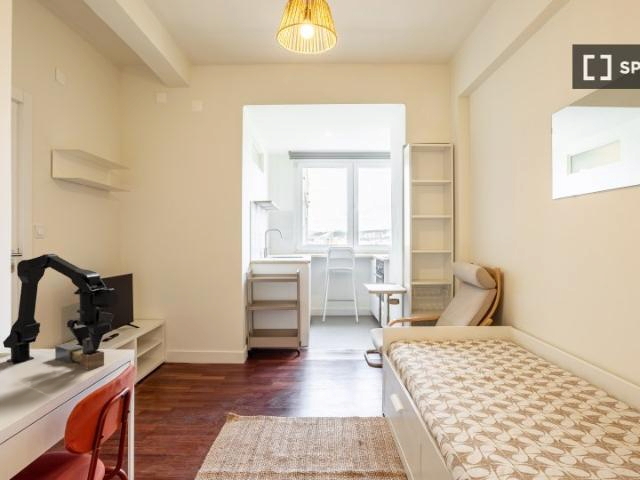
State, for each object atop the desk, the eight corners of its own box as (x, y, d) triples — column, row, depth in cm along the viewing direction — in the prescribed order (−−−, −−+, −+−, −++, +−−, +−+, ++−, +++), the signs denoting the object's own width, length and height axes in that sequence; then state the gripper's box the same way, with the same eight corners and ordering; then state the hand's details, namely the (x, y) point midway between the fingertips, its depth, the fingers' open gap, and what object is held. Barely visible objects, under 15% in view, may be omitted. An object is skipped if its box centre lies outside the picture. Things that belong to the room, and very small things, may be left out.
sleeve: (55, 358, 143) (55, 345, 143) (69, 354, 147) (69, 342, 147) (69, 362, 138) (69, 349, 138) (83, 358, 143) (82, 346, 143)
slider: (67, 358, 141) (67, 335, 140) (76, 355, 143) (76, 333, 143) (89, 365, 133) (89, 340, 133) (98, 362, 136) (98, 338, 136)
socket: (80, 366, 134) (80, 353, 134) (95, 362, 139) (95, 349, 139) (89, 369, 131) (89, 356, 131) (104, 365, 136) (104, 351, 136)
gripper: (124, 305, 138) (125, 345, 138) (96, 300, 147) (96, 338, 148) (94, 310, 128) (94, 354, 129) (66, 305, 137) (66, 346, 138)
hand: (89, 347), depth 136 cm, fingers open, 9 cm apart
